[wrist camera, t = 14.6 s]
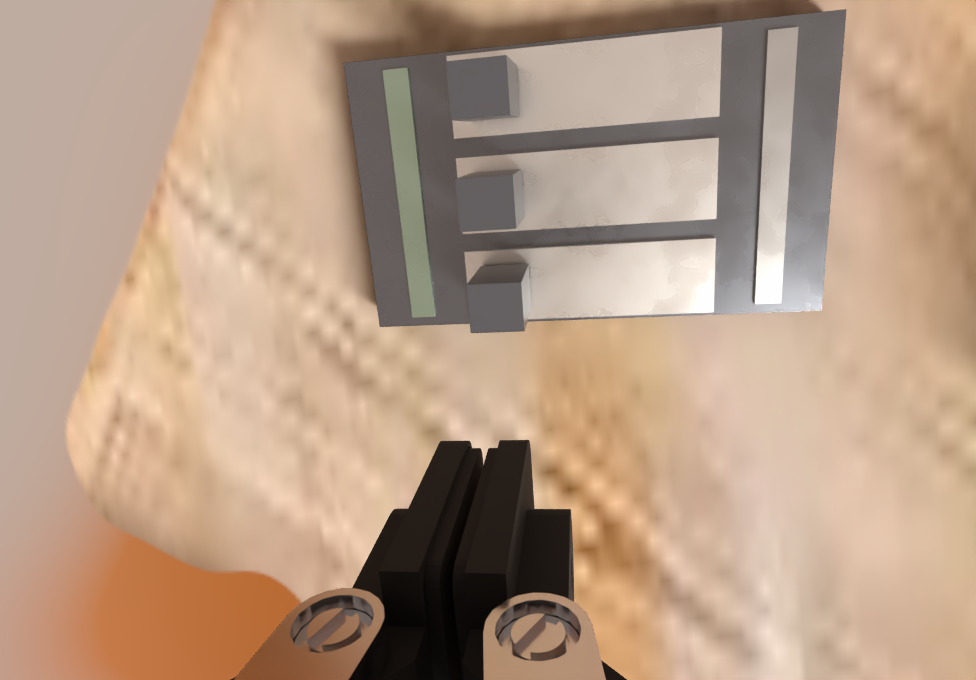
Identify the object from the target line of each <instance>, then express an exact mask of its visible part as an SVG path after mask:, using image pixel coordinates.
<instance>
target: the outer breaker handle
mask: <svg viewBox="0 0 976 680" xmlns="http://www.w3.org/2000/svg"><path fill="white" fill-rule="evenodd" d="M446 69H447V80H448V91H449V102H450V112H451V120H453V121H467V122H470V121H481V120H492V119H503V118H515V117H520V112H519V96H518V80H517V65H516V64H515V63H514V62H513V61H512V60H511V59H510V58H509V57H508V56H507V55H501V56H492V57H482V58H473V59H463V60H454V61H446Z"/></svg>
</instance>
